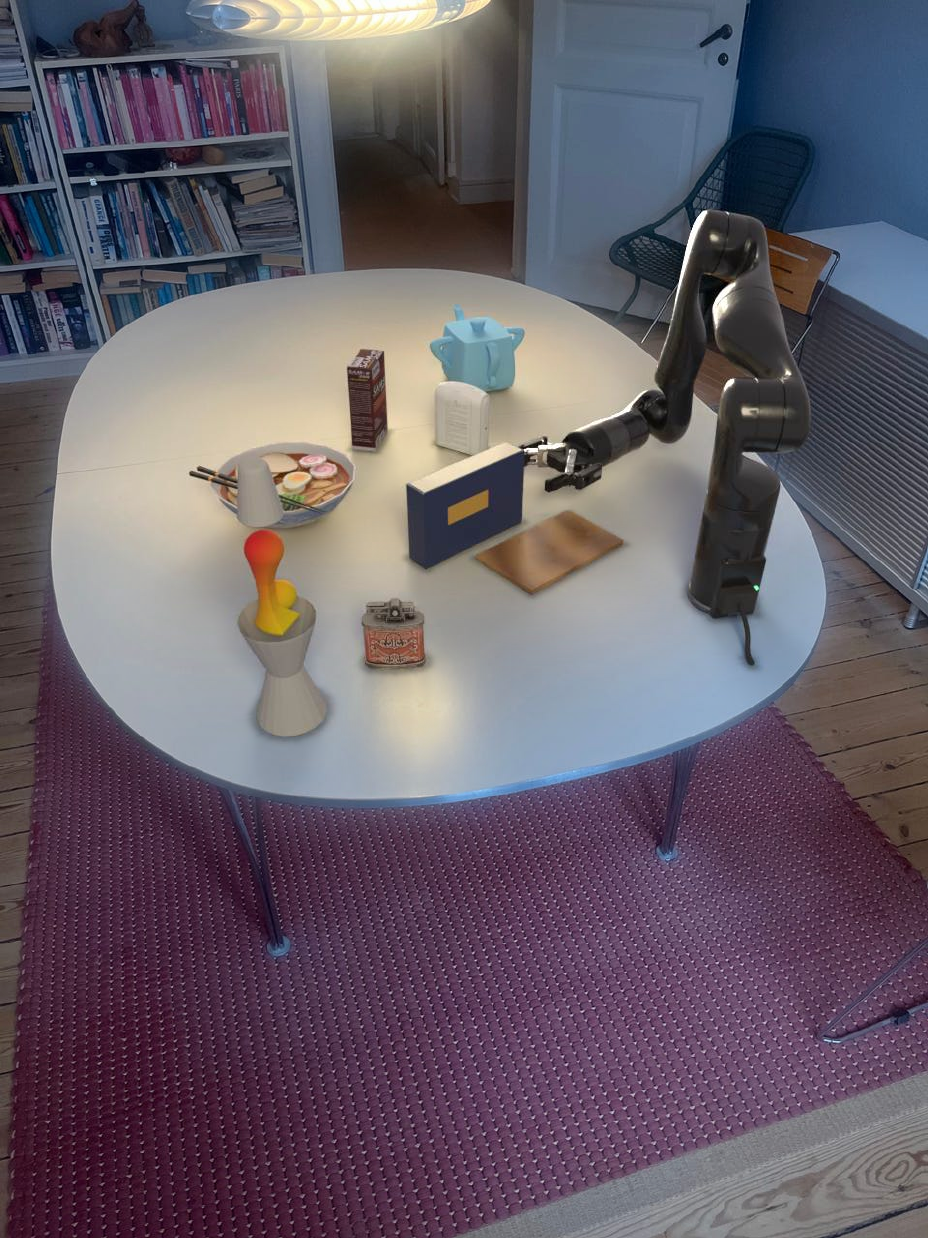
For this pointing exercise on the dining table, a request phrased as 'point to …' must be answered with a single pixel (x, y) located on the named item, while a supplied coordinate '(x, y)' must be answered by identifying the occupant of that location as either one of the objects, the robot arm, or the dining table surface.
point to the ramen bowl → (291, 479)
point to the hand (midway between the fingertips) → (527, 476)
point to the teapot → (478, 351)
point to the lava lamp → (275, 613)
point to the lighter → (393, 635)
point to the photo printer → (462, 417)
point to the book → (464, 504)
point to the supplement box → (367, 400)
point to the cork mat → (549, 551)
